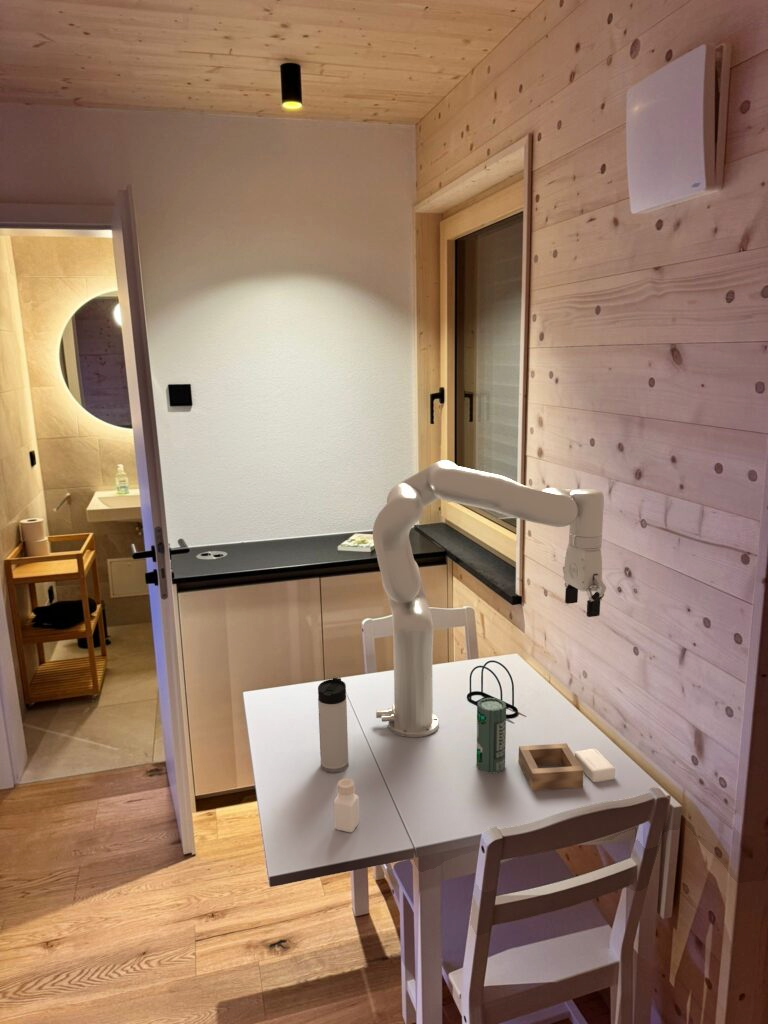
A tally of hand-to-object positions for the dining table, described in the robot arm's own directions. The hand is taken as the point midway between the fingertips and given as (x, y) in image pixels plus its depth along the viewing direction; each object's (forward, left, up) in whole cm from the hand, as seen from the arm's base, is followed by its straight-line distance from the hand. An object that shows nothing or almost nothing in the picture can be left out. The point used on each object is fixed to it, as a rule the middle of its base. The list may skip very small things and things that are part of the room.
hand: (581, 609), depth 177 cm
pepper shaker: (-59, -35, -30) cm, 75 cm away
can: (-26, -17, -30) cm, 43 cm away
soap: (-4, -22, -30) cm, 37 cm away
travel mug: (-61, -13, -30) cm, 69 cm away
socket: (-14, -22, -30) cm, 40 cm away
